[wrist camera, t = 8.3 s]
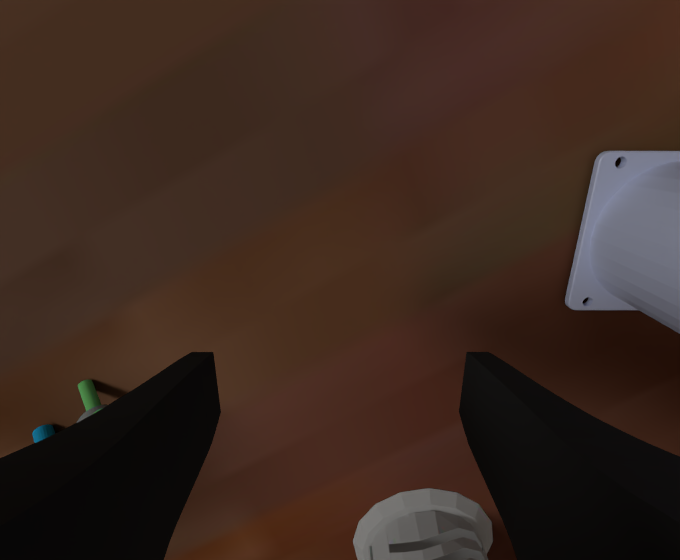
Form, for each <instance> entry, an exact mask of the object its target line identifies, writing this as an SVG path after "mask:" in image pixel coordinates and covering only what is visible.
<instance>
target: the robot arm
mask: <svg viewBox="0 0 680 560" xmlns="http://www.w3.org/2000/svg"><path fill="white" fill-rule="evenodd" d="M619 157H620V159H621V163H620V165H619V166H618V167H616V166H615V162H616V160H617V159H618V158H619ZM587 297H588V300H587V302H585V303H583V300H584V299H585V298H587ZM565 304H566V305H567V306H568V307H569V308H571V309H572V310H639V311H641V312H643V313H645V314H646V315H648V316H650V317H652V318H653V319H655V320H657V321H658V322H660V323H662V324H664V325H665V326H667V327H669V328H671V329H672V330H674V331H676V332H678V333H679V334H680V151H604V152H602V153H601V154H599V155H598V156H597V158H596V160H595V163H594V167H593V172H592V177H591V181H590V186H589V191H588V195H587V200H586V204H585V209H584V214H583V218H582V223H581V228H580V232H579V237H578V241H577V246H576V251H575V255H574V260H573V265H572V269H571V274H570V278H569V283H568V288H567V292H566V297H565ZM220 413H221V410H220V402H219V394H218V386H217V378H216V370H215V362H214V354H213V352H191V353H189V354H188V355H186V356H184V357H183V358H181V359H179V360H178V361H176V362H175V363H173V364H172V365H170V366H169V367H167V368H166V369H164V370H163V371H161V372H160V373H158V374H157V375H155V376H154V377H152V378H151V379H149V380H148V381H146V382H145V383H143V384H142V385H140V386H139V387H137V388H135V389H134V390H132V391H131V392H129V393H127V394H126V395H124V396H122V397H121V398H119V399H117V400H116V401H114V402H112V403H111V404H109V405H108V406H106V407H104V408H103V409H101V410H99V411H97V412H96V413H94V414H92V415H90V416H89V417H87V418H85V419H83V420H81V421H79V422H77V423H75V424H73V425H72V426H70V427H68V428H66V429H64V430H62V431H60V432H58V433H56V434H54V435H52V436H50V437H47V438H45V439H43V440H41V441H39V442H36V443H34V444H32V445H29V446H27V447H25V448H23V449H20V450H18V451H16V452H14V453H11V454H9V455H7V456H4V457H2V458H0V560H164V557H165V554H166V551H167V548H168V545H169V542H170V539H171V537H172V534H173V532H174V529H175V527H176V524H177V522H178V519H179V517H180V515H181V513H182V510H183V508H184V506H185V504H186V501H187V499H188V497H189V495H190V492H191V490H192V488H193V485H194V483H195V481H196V479H197V476H198V474H199V472H200V470H201V467H202V465H203V463H204V460H205V458H206V456H207V454H208V451H209V449H210V446H211V444H212V441H213V437H214V434H215V431H216V427H217V424H218V420H219V416H220ZM459 413H460V417H461V420H462V424H463V428H464V431H465V434H466V437H467V441H468V444H469V446H470V449H471V451H472V453H473V455H474V458H475V460H476V462H477V464H478V467H479V469H480V471H481V473H482V476H483V478H484V480H485V482H486V485H487V487H488V489H489V491H490V493H491V496H492V498H493V500H494V502H495V504H496V507H497V509H498V511H499V513H500V516H501V518H502V520H503V522H504V525H505V527H506V530H507V532H508V535H509V537H510V540H511V542H512V545H513V548H514V551H515V554H516V557H517V560H680V457H679V456H677V455H674V454H672V453H669V452H667V451H665V450H662V449H660V448H658V447H655V446H653V445H651V444H648V443H646V442H644V441H642V440H640V439H637V438H635V437H633V436H631V435H629V434H627V433H625V432H623V431H621V430H619V429H617V428H615V427H613V426H611V425H609V424H607V423H605V422H603V421H601V420H599V419H597V418H595V417H593V416H592V415H590V414H588V413H586V412H584V411H583V410H581V409H579V408H577V407H576V406H574V405H572V404H570V403H569V402H567V401H565V400H564V399H562V398H560V397H559V396H557V395H555V394H554V393H552V392H551V391H549V390H547V389H546V388H544V387H543V386H541V385H539V384H538V383H536V382H535V381H533V380H532V379H530V378H529V377H527V376H526V375H524V374H523V373H521V372H520V371H518V370H517V369H515V368H513V367H512V366H510V365H509V364H507V363H506V362H504V361H503V360H501V359H499V358H498V357H496V356H494V355H493V354H491V353H489V352H467V354H466V362H465V369H464V377H463V385H462V393H461V400H460V408H459Z"/></svg>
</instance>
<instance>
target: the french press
mask: <svg viewBox="0 0 680 560" xmlns="http://www.w3.org/2000/svg"><path fill="white" fill-rule="evenodd" d="M353 543H354V547H355V551H356V555H357V559H358V560H488V558H487V553H488V551H489V549H490V547H491V545H492V543H493V534H492V522H491V520H490V519H489V518H488V516H487V515H486V514H485V512H484V511H483V509H482V508H481V507H480V505H479V504H477V503H475V502H473V501H472V500H470V499H468V498H466V497H464V496H462V495H461V494H459V493H457V492H450V491H444V490H438V489H431V488H427V489H420V490H413V491H406V492H400V493H398V494H396V495H394V496H392V497H390V498H388V499H385V500H383V501H381V502H379V503H377V504H375V505H374V506H373V507H372V508H371V510H370V511H369V512H368V513H367V514H366V515H365V516H364V517H363V518H362V519H361V520H360V521H359V523H358V526H357V530H356V533H355V536H354V539H353Z"/></svg>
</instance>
